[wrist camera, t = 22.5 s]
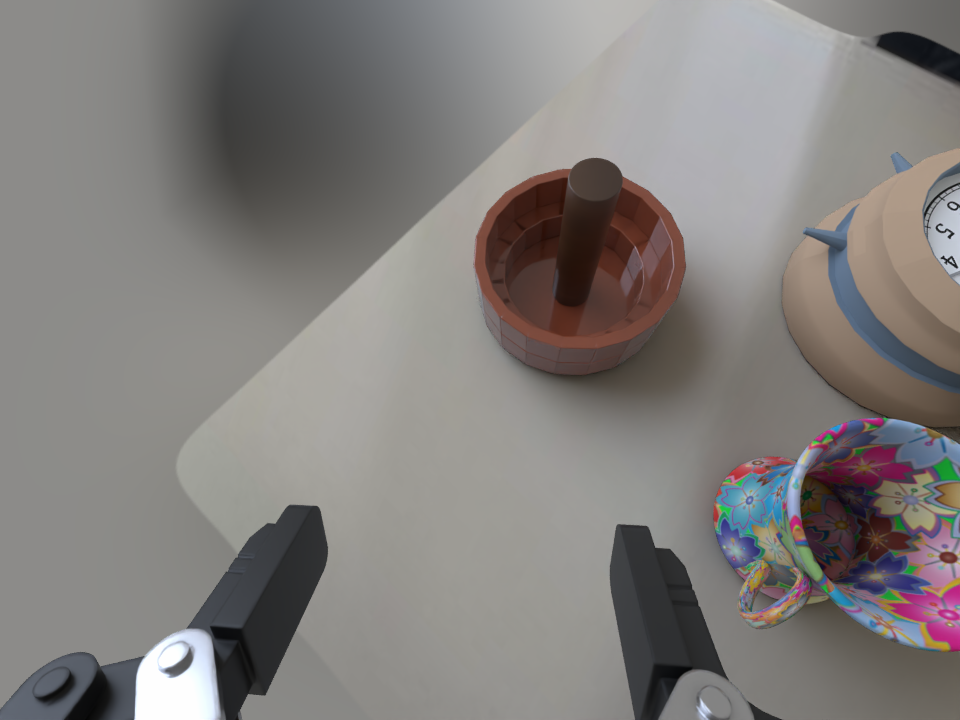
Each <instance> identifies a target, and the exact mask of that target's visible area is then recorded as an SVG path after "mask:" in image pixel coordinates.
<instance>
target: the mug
mask: <svg viewBox="0 0 960 720" xmlns="http://www.w3.org/2000/svg"><path fill="white" fill-rule="evenodd" d="M714 527H715V532H716V536H717V539H718V542H719V544H720V547H721V549H722V551H723V553H724V555H725V557H726V558H727V560H728V561H729V563H730V564H731V566H732V567H733V568H734V569H735V570H736V572H737V573H738V574H739V575H740V576H741V577H742V578H743V579H744V580H745V583H744V584H743V587H742V589H741V591H740V594H739V598H738V610H739V613H740V615H741V616H742V618H743V619H744V620H745V621H746V623H747V624H748V625H750V626H751V627H753V628H756V629H767V628H771V627H774V626H776V625H778V624H781V623H782V622H784V621H786V620H788V619H789V618H791V617H792V616H794V615H795V614H796V613H797V612H798V611H800V610H801V609H802V608H803V607H804V605H805V604H811V603H817V602H821V601H825V600H827V599H831V600H832V601H833V602H834V603H835V604H836V605H837V606H838V607H840V608H841V609H842V610H843V611H844V612H845V613H846V614H848V615H849V616H850V617H852V618H853V619H854V620H855V621H857V622H858V623H860V624H861V625H863V626H864V627H866V628H867V629H869V630H871V631H873V632H875V633H876V634H878V635H880V636H882V637H885V638H887V639H889V640H891V641H894V642H897V643H899V644H902V645H905V646H909V647H913V648H917V649H922V650H928V651H938V652H954V651H960V444H958V443H957V442H955V441H953V440H952V439H950V438H948V437H946V436H944V435H943V434H941V433H938V432H936V431H934V430H932V429H929V428H926V427H924V426H921V425H918V424H914V423H911V422H907V421H901V420H896V419H888V418H866V419H859V420H853V421H850V422H846V423H843V424H840V425H838V426H835V427H833V428H831V429H829V430H827V431H825V432H824V433H823V434H821V435H820V436H818V437H817V438H816V439H815V440H814V441H813V442H811V443H810V445H809V446H808V447H807V448H806V449H805V450H804V452H803V453H802V455H801V456H800V458H799V459H798V461H796V460H793V459H788V458H782V457H763V458H757V459H754V460H751V461H748V462H746V463H744V464H742V465H740V466H739V467H737V468H736V469H735V470H733V471H732V472H731V473H730V474H729V475H728V476H727V477H726V479H725V480H724V482H723V483H722V485H721V486H720V488H719V491H718V493H717V496H716V499H715V504H714ZM758 591H760V592H762V593H764V594H766V595H768V596H770V597H772V598H775V599H778V601H777V602H775V603H774V604H772V605H770V606H769V607H767V608H765V609H762V610H760V611H756V612H752V606H753V602H754V600H755V597H756V595H757V593H758Z"/></svg>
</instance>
